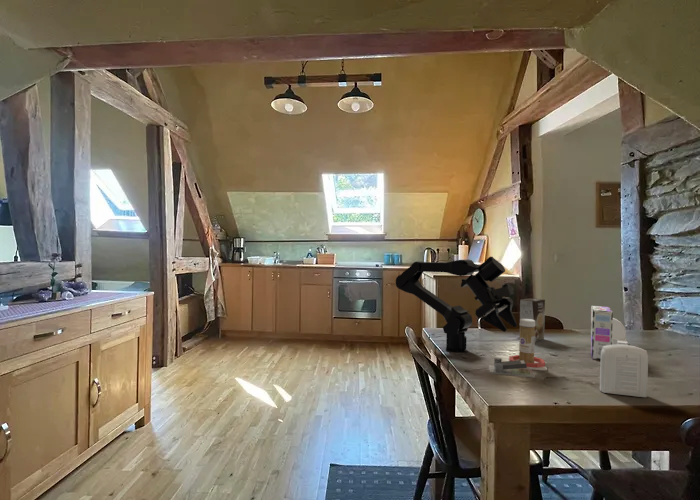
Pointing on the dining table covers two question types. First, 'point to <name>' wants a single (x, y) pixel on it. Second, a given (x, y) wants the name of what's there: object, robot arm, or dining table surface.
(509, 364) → the block
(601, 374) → the photo printer
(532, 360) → the sprinkles bottle
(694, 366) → the dining table surface
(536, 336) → the coffee box
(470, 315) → the robot arm
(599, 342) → the candy box
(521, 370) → the panel
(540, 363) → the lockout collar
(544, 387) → the dining table surface
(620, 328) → the u-slot stand
